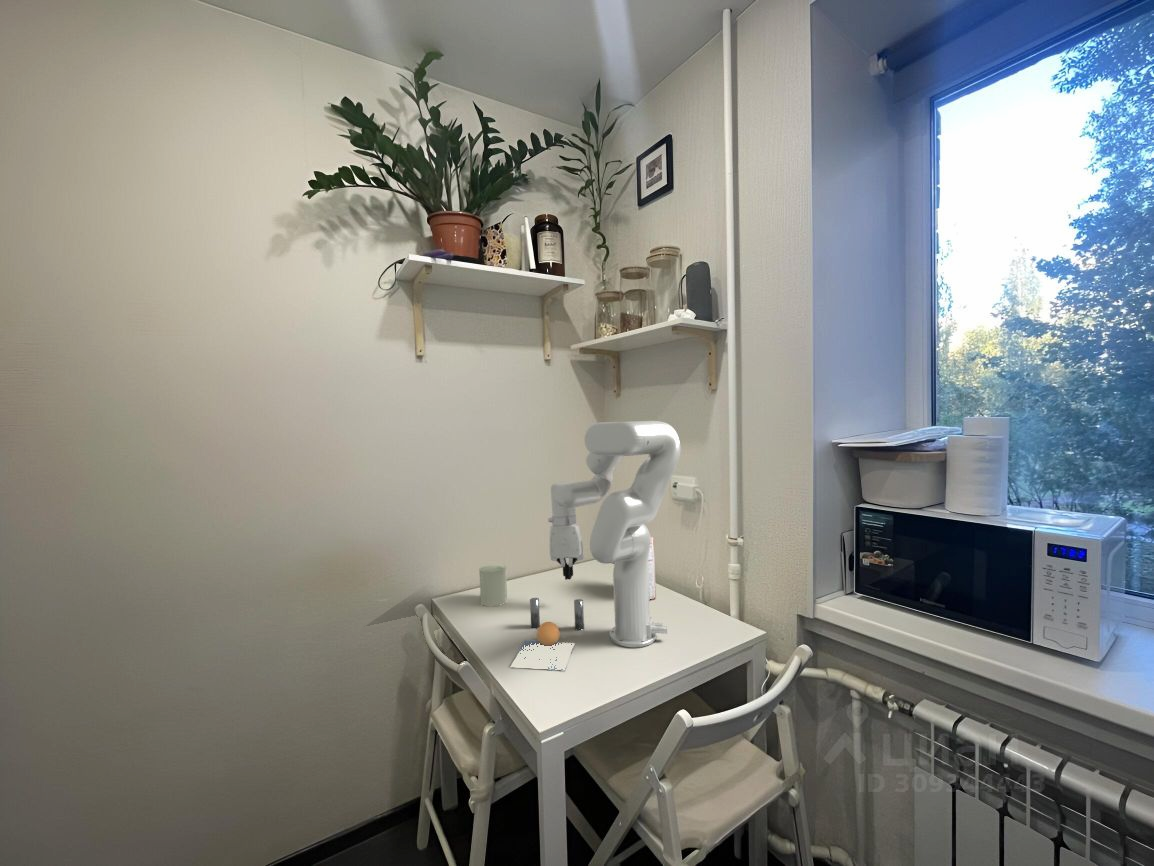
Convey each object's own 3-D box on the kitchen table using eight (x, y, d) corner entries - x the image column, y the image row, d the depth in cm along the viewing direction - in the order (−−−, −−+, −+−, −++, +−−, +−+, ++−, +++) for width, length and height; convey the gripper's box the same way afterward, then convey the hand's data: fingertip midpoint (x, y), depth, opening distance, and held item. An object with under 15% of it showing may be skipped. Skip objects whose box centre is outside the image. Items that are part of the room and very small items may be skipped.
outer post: (540, 624, 133) (539, 597, 133) (538, 628, 131) (537, 601, 131) (532, 624, 134) (531, 597, 134) (529, 628, 131) (528, 601, 131)
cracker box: (620, 589, 160) (617, 530, 160) (634, 586, 163) (632, 528, 162) (641, 602, 147) (638, 538, 147) (656, 599, 150) (654, 536, 150)
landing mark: (575, 643, 121) (575, 642, 121) (565, 671, 107) (565, 670, 107) (525, 641, 124) (525, 640, 124) (508, 668, 110) (508, 667, 110)
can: (502, 607, 148) (500, 570, 148) (475, 606, 150) (474, 570, 150) (511, 596, 157) (510, 562, 157) (486, 595, 159) (485, 561, 159)
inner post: (584, 626, 131) (583, 599, 131) (583, 630, 129) (582, 602, 129) (575, 626, 132) (574, 598, 132) (574, 630, 129) (573, 602, 129)
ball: (556, 624, 118) (555, 649, 117) (562, 621, 124) (561, 645, 122) (535, 622, 119) (532, 646, 118) (541, 619, 125) (539, 642, 124)
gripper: (539, 524, 143) (543, 582, 143) (585, 522, 141) (589, 581, 140) (544, 519, 151) (548, 575, 150) (589, 518, 148) (593, 574, 147)
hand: (568, 578), depth 145 cm, fingers closed
